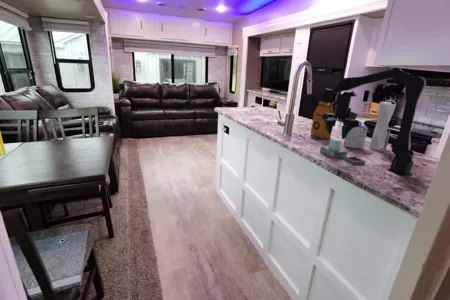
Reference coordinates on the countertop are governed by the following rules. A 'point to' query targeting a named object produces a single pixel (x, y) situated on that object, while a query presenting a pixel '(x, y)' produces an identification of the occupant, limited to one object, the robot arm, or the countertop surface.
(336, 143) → the plug
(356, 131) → the ink cartridge box
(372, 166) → the countertop surface
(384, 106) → the skyscraper
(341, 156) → the socket
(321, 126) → the coffee package
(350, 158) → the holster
